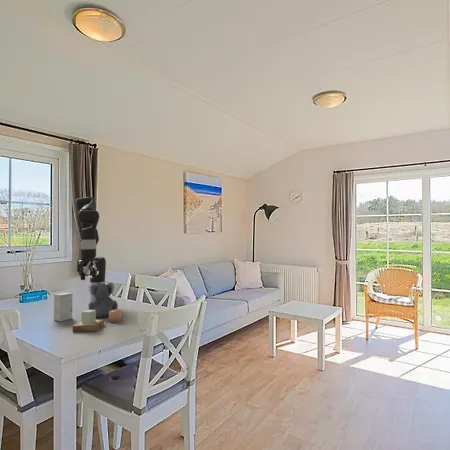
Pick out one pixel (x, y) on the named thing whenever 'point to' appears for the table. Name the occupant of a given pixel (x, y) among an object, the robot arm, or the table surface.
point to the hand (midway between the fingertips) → (88, 278)
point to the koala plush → (102, 299)
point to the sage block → (88, 316)
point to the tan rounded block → (115, 315)
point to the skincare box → (62, 306)
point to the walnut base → (88, 326)
